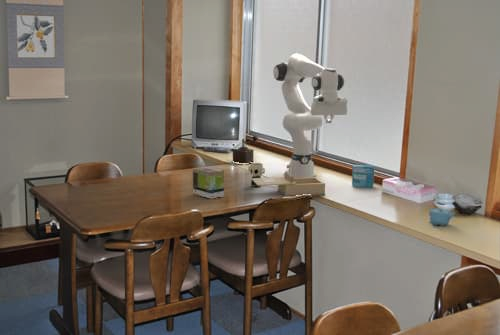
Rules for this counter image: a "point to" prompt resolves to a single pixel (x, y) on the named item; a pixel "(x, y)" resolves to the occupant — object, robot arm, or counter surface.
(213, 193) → the tea box
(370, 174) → the data package
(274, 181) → the lid
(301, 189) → the tray
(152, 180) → the counter surface
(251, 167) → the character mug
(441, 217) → the teapot
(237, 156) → the pepper mill
